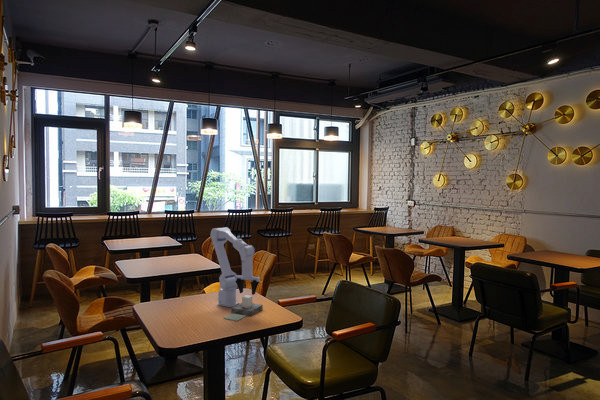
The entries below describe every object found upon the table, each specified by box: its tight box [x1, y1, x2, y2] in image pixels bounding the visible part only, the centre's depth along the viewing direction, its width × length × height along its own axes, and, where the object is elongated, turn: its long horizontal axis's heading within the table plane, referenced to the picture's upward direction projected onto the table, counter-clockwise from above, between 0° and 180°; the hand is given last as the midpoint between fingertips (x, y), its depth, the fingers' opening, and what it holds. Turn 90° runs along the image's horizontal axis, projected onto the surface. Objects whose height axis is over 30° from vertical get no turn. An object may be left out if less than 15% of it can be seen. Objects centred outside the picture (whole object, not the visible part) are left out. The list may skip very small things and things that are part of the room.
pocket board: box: [230, 302, 264, 317], centre depth 215 cm, size 12×12×2 cm
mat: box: [223, 313, 247, 322], centre depth 204 cm, size 8×8×1 cm
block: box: [241, 294, 253, 308], centre depth 214 cm, size 4×4×8 cm
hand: (247, 293), depth 214 cm, fingers open, 7 cm apart
